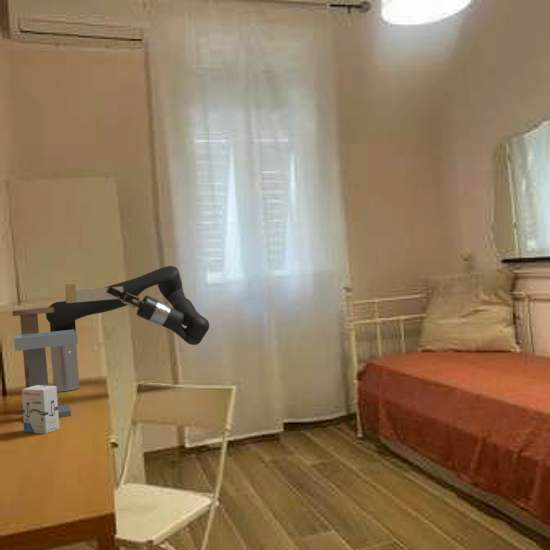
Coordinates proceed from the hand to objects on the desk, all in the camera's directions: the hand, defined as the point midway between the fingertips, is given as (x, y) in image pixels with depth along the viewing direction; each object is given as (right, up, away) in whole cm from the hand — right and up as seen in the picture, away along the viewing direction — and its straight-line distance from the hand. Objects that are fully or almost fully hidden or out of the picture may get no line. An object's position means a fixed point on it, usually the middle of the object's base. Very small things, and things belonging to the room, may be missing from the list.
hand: (107, 289), depth 197 cm
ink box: (-6, -37, -39) cm, 54 cm away
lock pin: (-4, -4, -2) cm, 5 cm away
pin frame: (-11, -37, -19) cm, 43 cm away
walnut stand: (-19, -38, -8) cm, 43 cm away
